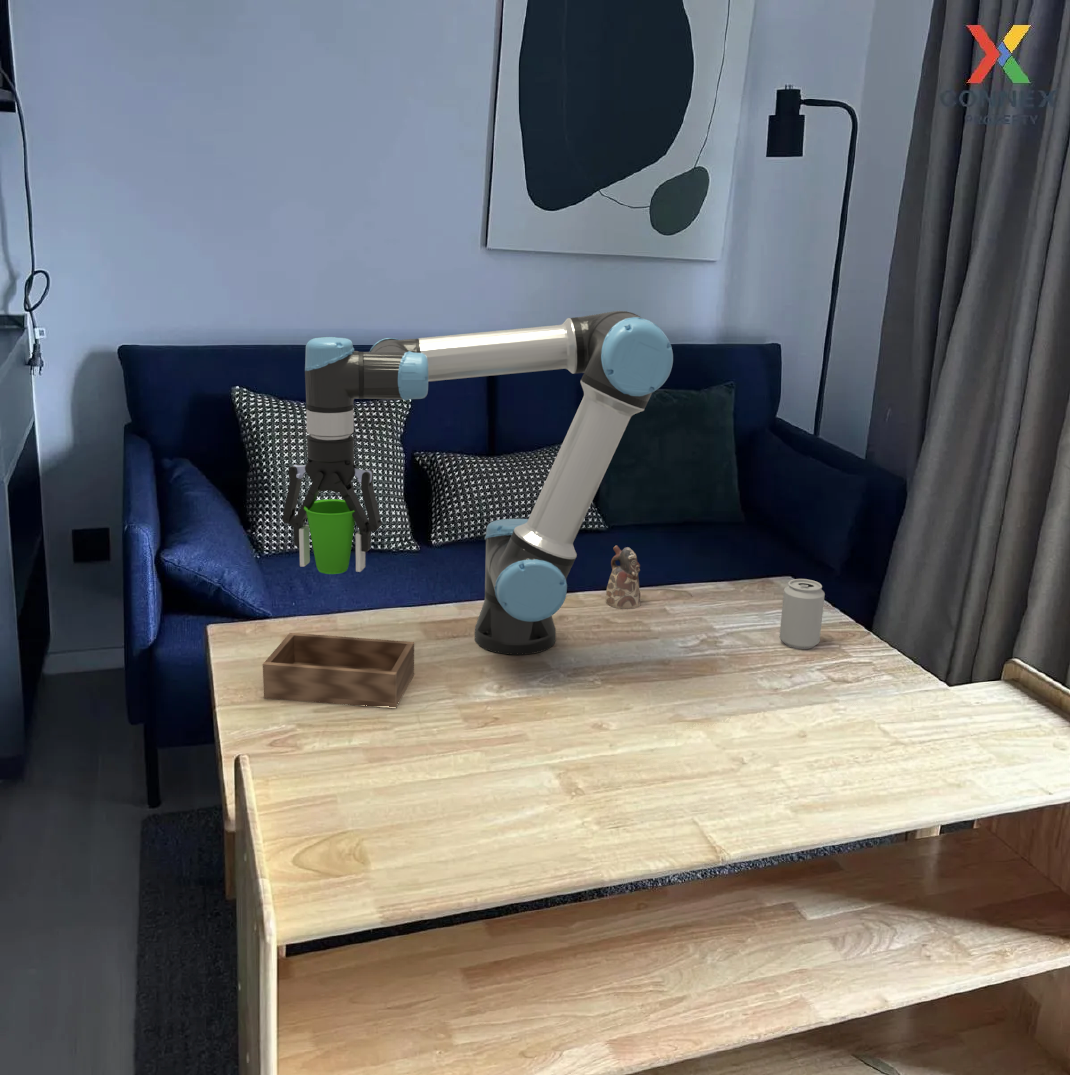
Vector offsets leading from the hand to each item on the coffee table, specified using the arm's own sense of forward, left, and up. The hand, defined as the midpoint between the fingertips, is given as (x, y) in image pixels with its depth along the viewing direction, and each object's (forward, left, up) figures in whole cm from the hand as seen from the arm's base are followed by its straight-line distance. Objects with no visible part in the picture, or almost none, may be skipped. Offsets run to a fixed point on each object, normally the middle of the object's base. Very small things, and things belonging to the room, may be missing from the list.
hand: (332, 566), depth 198 cm
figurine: (-47, -46, -20) cm, 69 cm away
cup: (0, 0, -1) cm, 1 cm away
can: (-81, -31, -20) cm, 89 cm away
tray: (-2, +4, -20) cm, 20 cm away
